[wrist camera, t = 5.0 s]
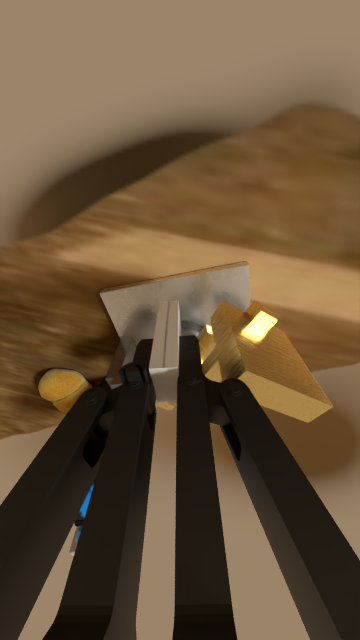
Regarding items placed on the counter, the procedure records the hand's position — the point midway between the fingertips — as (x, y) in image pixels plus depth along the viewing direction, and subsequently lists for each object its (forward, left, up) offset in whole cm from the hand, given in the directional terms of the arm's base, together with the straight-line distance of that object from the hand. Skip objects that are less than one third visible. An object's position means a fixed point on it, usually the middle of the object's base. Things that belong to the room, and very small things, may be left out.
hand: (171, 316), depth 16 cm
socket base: (-1, -10, -11) cm, 15 cm away
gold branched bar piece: (+1, -8, -4) cm, 9 cm away
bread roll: (-23, -17, -12) cm, 31 cm away
